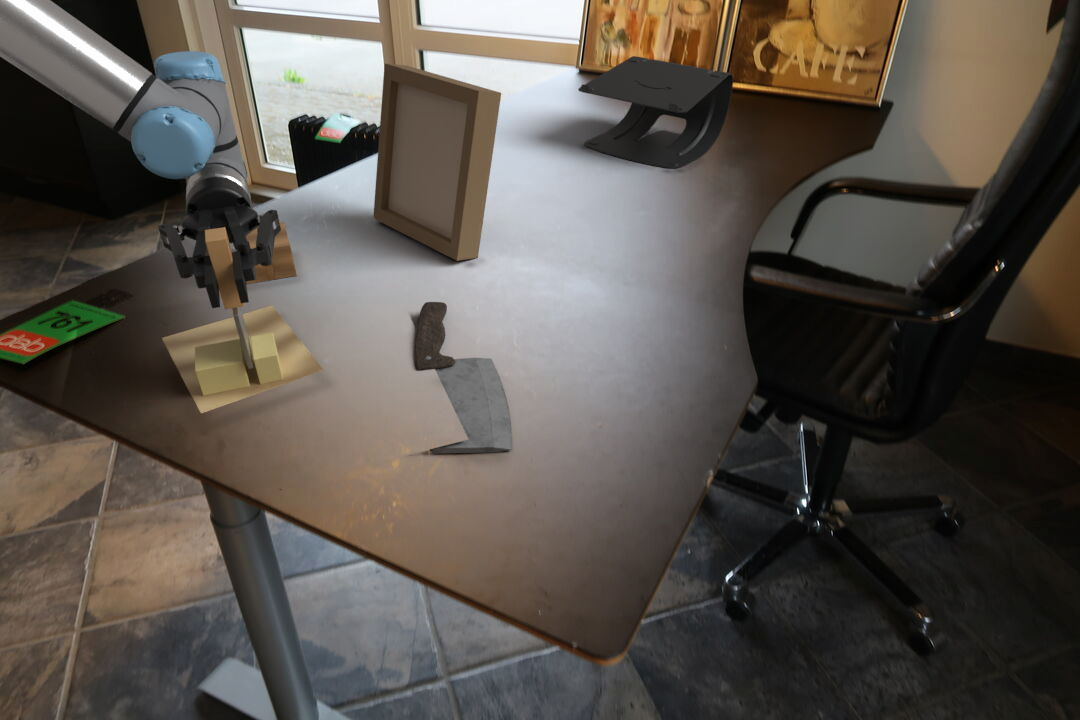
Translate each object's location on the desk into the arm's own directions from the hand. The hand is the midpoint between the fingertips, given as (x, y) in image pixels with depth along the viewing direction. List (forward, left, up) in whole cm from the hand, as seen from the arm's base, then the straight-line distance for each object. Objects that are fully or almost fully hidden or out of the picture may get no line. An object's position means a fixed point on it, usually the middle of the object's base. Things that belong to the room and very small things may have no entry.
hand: (227, 293), depth 70 cm
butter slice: (-5, +3, -14) cm, 15 cm away
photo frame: (-29, +41, -15) cm, 53 cm away
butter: (-6, -2, -14) cm, 15 cm away
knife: (-5, +1, -11) cm, 12 cm away
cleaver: (+7, +21, -15) cm, 27 cm away
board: (-10, +1, -15) cm, 18 cm away
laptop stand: (-42, +100, -15) cm, 110 cm away
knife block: (-33, +12, -15) cm, 39 cm away
